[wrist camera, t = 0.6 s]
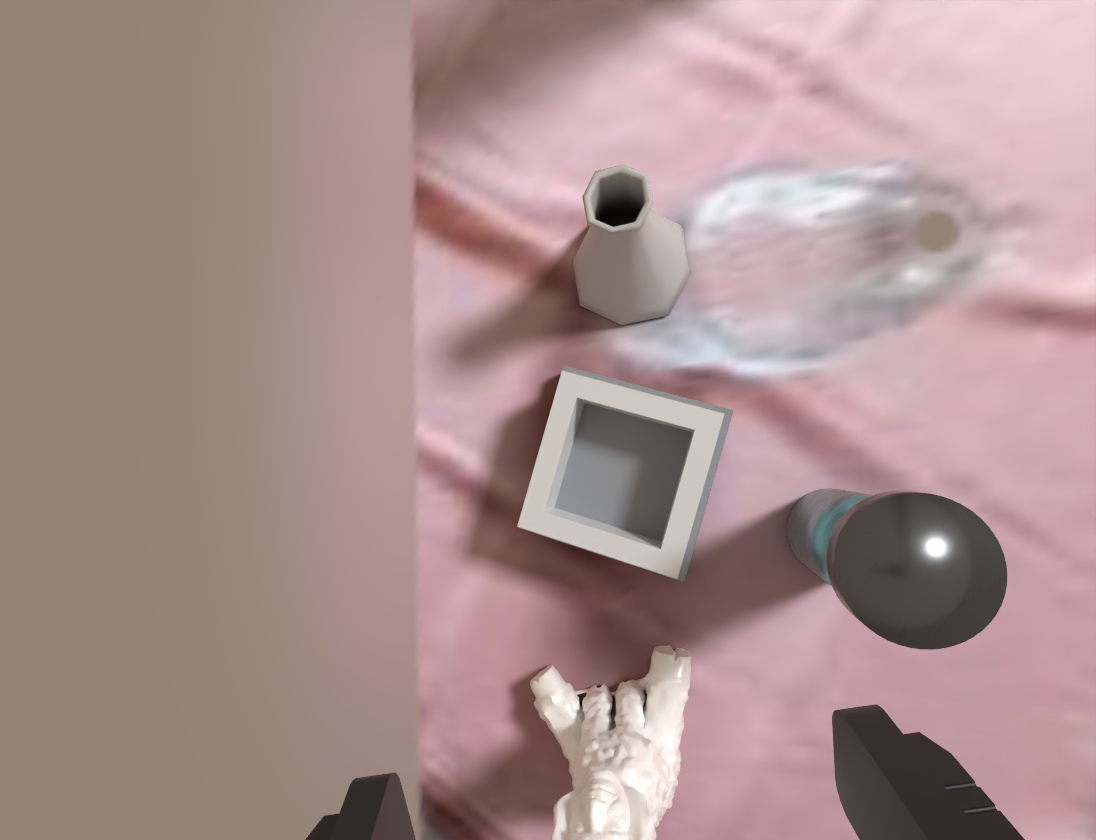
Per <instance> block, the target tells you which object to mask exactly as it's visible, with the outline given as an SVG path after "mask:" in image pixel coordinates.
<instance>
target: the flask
mask: <svg viewBox="0 0 1096 840" xmlns="http://www.w3.org/2000/svg"><path fill="white" fill-rule="evenodd" d="M583 202H584V208H585V213H586V219H587V225H588V226H590V228H589V230H588V232H587V234H586V236H585V238H584V240H583V242H582V244H581V246H580V248H579V250H578V251H577V253H576V255H575V257H574V259H573V261H572V262H573V267H574V273H575V279H576V285H577V291H578V296H579V302H580V306H582V307H584V308H586V309H588V310H590V311H592V312H594V313H597V314H599V315H601V316H603V317H605V318H607V319H610V320H612V321H614V322H616V323H618V324H620V325H625V324H629V323H634V322H639V321H644V320H649V319H654V318H658V317H663V316H668V315H669V314H670V312H671V310H672V308H673V306H674V305H675V303H676V301H677V299H678V297H679V295H680V293H681V291H682V289H683V287H684V285H685V283H686V281H687V279H688V277H689V275H690V273H691V270H690V265H689V259H688V254H687V249H686V244H685V239H684V233H683V228H682V226H680V225H679V224H677V223H675V222H672V221H670V220H668V219H666V218H664V217H663V216H661V215H659V214H658V213H656V212H655V211H653V210H651V207H652V205H653V200H652V194H651V189H650V184H649V179H648V175H647V174H645V173H642V172H640V171H637V170H635V169H632V168H630V167H627V166H625V165H619V166H615V167H611V168H607V169H603V170H599V171H596V172H595V173H594V175H593V177H592V179H591V181H590V183H589V185H588V187H587V189H586V191H585V193H584V195H583Z"/></svg>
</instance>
